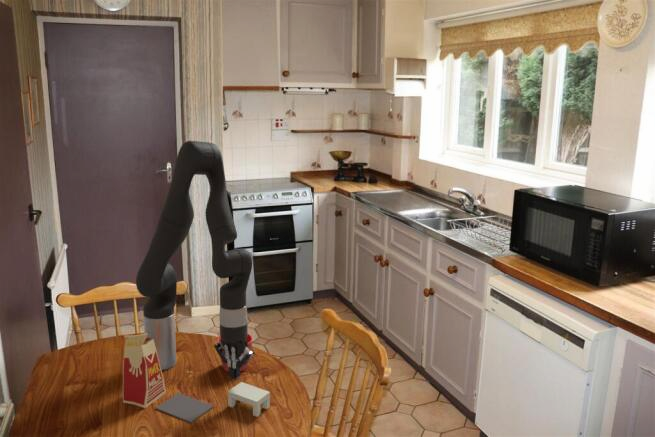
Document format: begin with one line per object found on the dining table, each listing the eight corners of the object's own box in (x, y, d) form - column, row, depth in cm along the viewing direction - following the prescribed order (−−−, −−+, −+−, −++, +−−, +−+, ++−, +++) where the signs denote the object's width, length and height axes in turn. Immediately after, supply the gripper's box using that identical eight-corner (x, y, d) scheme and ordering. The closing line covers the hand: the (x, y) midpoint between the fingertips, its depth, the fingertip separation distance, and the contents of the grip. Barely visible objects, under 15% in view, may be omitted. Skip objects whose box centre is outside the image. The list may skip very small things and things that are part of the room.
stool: (227, 391, 159) (256, 401, 154) (241, 381, 164) (270, 392, 159) (228, 406, 160) (256, 417, 155) (241, 396, 165) (270, 406, 160)
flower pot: (246, 377, 176) (245, 347, 174) (212, 372, 178) (211, 344, 176) (257, 361, 186) (257, 333, 184) (225, 357, 188) (224, 329, 186)
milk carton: (166, 392, 166) (163, 328, 162) (146, 408, 158) (142, 341, 153) (139, 386, 169) (135, 323, 165) (118, 402, 161) (114, 336, 156)
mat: (155, 408, 158) (155, 407, 158) (178, 394, 165) (178, 392, 165) (191, 423, 152) (191, 421, 151) (213, 407, 159) (213, 405, 159)
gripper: (205, 320, 157) (207, 378, 161) (244, 331, 150) (245, 390, 154) (223, 311, 163) (224, 367, 167) (261, 321, 157) (261, 378, 161)
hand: (234, 378), depth 161 cm, fingers closed
